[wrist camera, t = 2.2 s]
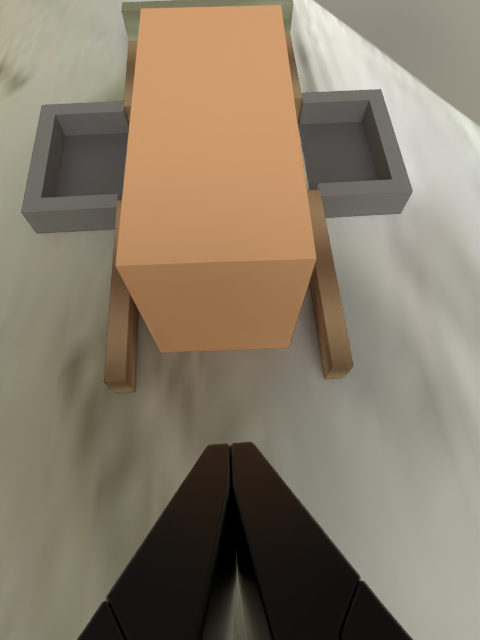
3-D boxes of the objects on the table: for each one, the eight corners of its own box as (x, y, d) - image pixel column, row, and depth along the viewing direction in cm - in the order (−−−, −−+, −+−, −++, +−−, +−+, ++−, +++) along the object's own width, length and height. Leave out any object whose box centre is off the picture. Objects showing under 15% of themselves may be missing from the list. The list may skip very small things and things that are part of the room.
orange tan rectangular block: (288, 348, 22) (316, 258, 14) (161, 353, 22) (115, 265, 14) (269, 148, 29) (281, 4, 20) (169, 151, 29) (140, 8, 20)
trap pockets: (400, 213, 26) (412, 191, 24) (36, 233, 25) (21, 212, 24) (372, 114, 30) (380, 89, 28) (54, 129, 29) (41, 104, 27)
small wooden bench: (343, 377, 22) (364, 352, 18) (115, 392, 21) (89, 369, 18) (285, 52, 33) (291, -5, 29) (135, 58, 32) (122, 2, 29)
